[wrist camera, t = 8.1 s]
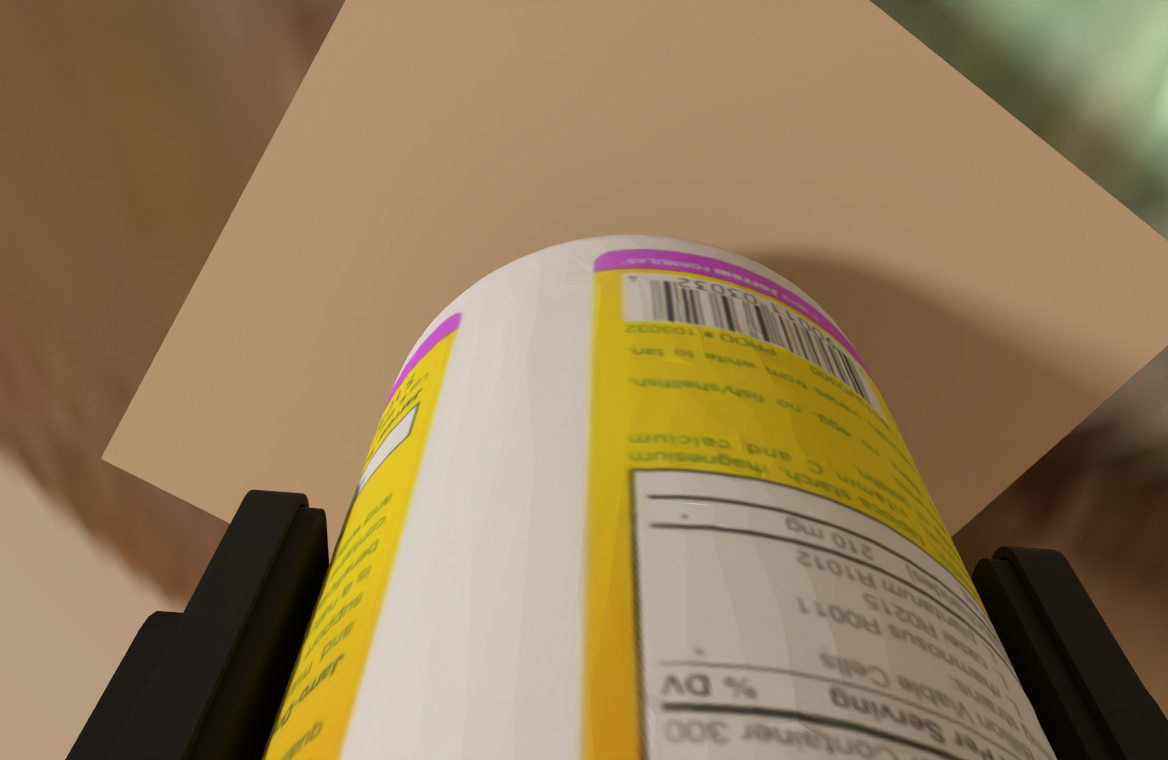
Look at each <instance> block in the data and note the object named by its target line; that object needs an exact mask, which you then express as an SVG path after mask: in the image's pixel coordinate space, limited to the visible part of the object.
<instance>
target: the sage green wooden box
mask: <svg viewBox="0 0 1168 760" xmlns="http://www.w3.org/2000/svg"><path fill="white" fill-rule="evenodd" d="M623 234H643V235H664V236H671V237H678V238H685V239H690V240H694V241H699V242H703V243H707V244H710V245H714V246H717V247H720V248H723V249H726V250H729V251H731V252H734V253H737V254H739V255H742V256H744V257H747V258H749V259H751V260H753V261H756V262H758V263H760V264H762V265H764V266H765V267H767V268H769V269H770V270H772V271H774V272H776V273H777V274H779V275H781V276H782V277H784V278H786V279H787V280H789V281H790V282H792V283H793V284H795V285H796V286H797V287H798V288H800V289H801V290H802V291H803V292H805V293H806V294H807V295H808V296H810V297H811V298H812V299H813V300H814V301H815V302H816V303H817V304H818V305H819V306H820V307H821V308H822V309H823V310H824V311H825V312H826V313H827V314H828V315H829V316H830V317H831V318H832V319H833V320H834V321H835V323H836V324H837V325H838V327H839V328H840V329H841V331H842V332H843V333H844V334H845V336H846V337H847V338H848V340H849V341H850V342H851V344H852V345H853V347H854V349H855V350H856V352H857V353H858V355H859V356H860V358H861V359H862V361H863V363H864V364H865V366H866V367H867V369H868V371H869V373H870V375H871V376H872V378H873V380H874V382H875V384H876V386H877V388H878V390H879V392H880V394H881V396H882V398H883V400H884V402H885V403H886V405H887V407H888V409H889V411H890V413H891V415H892V417H893V419H894V421H895V423H896V425H897V427H898V429H899V431H900V434H901V436H902V438H903V440H904V442H905V444H906V446H907V448H908V450H909V452H910V454H911V456H912V458H913V460H914V463H915V465H916V467H917V469H918V471H919V473H920V475H921V477H922V480H923V482H924V484H925V486H926V488H927V490H928V492H929V494H930V497H931V499H932V501H933V503H934V505H935V507H936V509H937V511H938V513H939V515H940V517H941V519H942V521H943V523H944V525H945V527H946V529H947V531H948V533H949V535H950V537H952V536H953V535H954V534H956V533H957V532H958V531H959V530H960V529H961V528H962V527H963V526H965V525H966V524H967V523H968V522H969V521H970V520H971V519H972V518H974V517H975V516H976V515H977V514H978V513H979V512H980V511H981V510H983V509H984V508H985V507H986V506H987V505H988V504H989V503H991V502H992V501H993V500H994V499H995V498H996V497H997V496H998V495H1000V494H1001V493H1002V492H1003V491H1004V490H1005V489H1006V488H1007V487H1009V486H1010V485H1011V484H1012V483H1013V482H1014V481H1015V480H1016V479H1018V478H1019V477H1020V476H1021V475H1022V474H1023V473H1024V472H1025V471H1027V470H1028V469H1029V468H1030V467H1031V466H1032V465H1033V464H1035V463H1036V462H1037V461H1038V460H1039V459H1040V458H1041V457H1042V456H1044V455H1045V454H1046V453H1047V452H1048V451H1049V450H1050V449H1051V448H1053V447H1054V446H1055V445H1056V444H1057V443H1058V442H1059V441H1060V440H1062V439H1063V438H1064V437H1065V436H1066V435H1067V434H1068V433H1070V432H1071V431H1072V430H1073V429H1074V428H1075V427H1076V426H1077V425H1079V424H1080V423H1081V422H1082V421H1083V420H1084V419H1085V418H1086V417H1088V416H1089V415H1090V414H1091V413H1092V412H1093V411H1094V410H1095V409H1097V408H1098V407H1099V406H1100V405H1101V404H1102V403H1103V402H1105V401H1106V400H1107V399H1108V398H1109V397H1110V396H1111V395H1112V394H1114V393H1115V392H1116V391H1117V390H1118V389H1119V388H1120V387H1121V386H1123V385H1124V384H1125V383H1126V382H1127V381H1128V380H1129V379H1130V378H1132V377H1133V376H1134V375H1135V374H1136V373H1137V372H1138V371H1140V370H1141V369H1142V368H1143V367H1144V366H1145V365H1146V364H1147V363H1149V362H1150V361H1151V360H1152V359H1153V358H1154V357H1155V356H1156V355H1158V354H1159V353H1160V352H1161V351H1162V350H1163V349H1164V348H1165V347H1167V346H1168V240H1166V239H1165V238H1164V237H1163V236H1161V235H1160V234H1159V233H1158V232H1156V231H1155V230H1154V229H1153V228H1151V227H1150V226H1149V225H1148V224H1147V223H1145V222H1144V221H1143V220H1142V219H1140V218H1139V217H1138V216H1137V215H1135V214H1134V213H1133V212H1132V211H1130V210H1129V209H1128V208H1127V207H1125V206H1124V205H1123V204H1122V203H1120V202H1119V201H1118V200H1117V199H1116V198H1114V197H1113V196H1112V195H1111V194H1109V193H1108V192H1107V191H1106V190H1104V189H1103V188H1102V187H1101V186H1099V185H1098V184H1097V183H1096V182H1094V181H1093V180H1092V179H1091V178H1089V177H1088V176H1087V175H1086V174H1085V173H1083V172H1082V171H1081V170H1080V169H1078V168H1077V167H1076V166H1075V165H1073V164H1072V163H1071V162H1070V161H1068V160H1067V159H1066V158H1065V157H1063V156H1062V155H1061V154H1060V153H1058V152H1057V151H1056V150H1055V149H1054V148H1052V147H1051V146H1050V145H1049V144H1047V143H1046V142H1045V141H1044V140H1042V139H1041V138H1040V137H1039V136H1037V135H1036V134H1035V133H1034V132H1032V131H1031V130H1030V129H1029V128H1027V127H1026V126H1025V125H1024V124H1023V123H1021V122H1020V121H1019V120H1018V119H1016V118H1015V117H1014V116H1013V115H1011V114H1010V113H1009V112H1008V111H1006V110H1005V109H1004V108H1003V107H1001V106H1000V105H999V104H998V103H996V102H995V101H994V100H993V99H992V98H990V97H989V96H988V95H987V94H985V93H984V92H983V91H982V90H980V89H979V88H978V87H977V86H975V85H974V84H973V83H972V82H970V81H969V80H968V79H967V78H965V77H964V76H963V75H962V74H961V73H959V72H958V71H957V70H956V69H954V68H953V67H952V66H951V65H949V64H948V63H947V62H946V61H944V60H943V59H942V58H941V57H939V56H938V55H937V54H936V53H934V52H933V51H932V50H931V49H930V48H928V47H927V46H926V45H925V44H923V43H922V42H921V41H920V40H918V39H917V38H916V37H915V36H913V35H912V34H911V33H910V32H908V31H907V30H906V29H905V28H903V27H902V26H901V25H900V24H899V23H897V22H896V21H895V20H894V19H892V18H891V17H890V16H889V15H887V14H886V13H885V12H884V11H882V10H881V9H880V8H879V7H877V6H876V5H875V4H874V3H873V2H871V1H870V0H346V1H345V3H344V5H343V7H342V8H341V10H340V12H339V14H338V16H337V18H336V20H335V22H334V23H333V25H332V27H331V29H330V31H329V33H328V35H327V36H326V38H325V40H324V42H323V44H322V46H321V48H320V50H319V51H318V53H317V55H316V57H315V59H314V61H313V63H312V65H311V66H310V68H309V70H308V72H307V74H306V76H305V78H304V80H303V81H302V83H301V85H300V87H299V89H298V91H297V93H296V94H295V96H294V98H293V100H292V102H291V104H290V106H289V108H288V109H287V111H286V113H285V115H284V117H283V119H282V121H281V123H280V124H279V126H278V128H277V130H276V132H275V134H274V136H273V138H272V139H271V141H270V143H269V145H268V147H267V149H266V151H265V152H264V154H263V156H262V158H261V160H260V162H259V164H258V166H257V167H256V169H255V171H254V173H253V175H252V177H251V179H250V181H249V182H248V184H247V186H246V188H245V190H244V192H243V194H242V196H241V197H240V199H239V201H238V203H237V205H236V207H235V209H234V211H233V212H232V214H231V216H230V218H229V220H228V222H227V224H226V225H225V227H224V229H223V231H222V233H221V235H220V237H219V239H218V240H217V242H216V244H215V246H214V248H213V250H212V252H211V254H210V255H209V257H208V259H207V261H206V263H205V265H204V267H203V269H202V270H201V272H200V274H199V276H198V278H197V280H196V282H195V283H194V285H193V287H192V289H191V291H190V293H189V295H188V297H187V298H186V300H185V302H184V304H183V306H182V308H181V310H180V312H179V313H178V315H177V317H176V319H175V321H174V323H173V325H172V327H171V328H170V330H169V332H168V334H167V336H166V338H165V340H164V341H163V343H162V345H161V347H160V349H159V351H158V353H157V355H156V356H155V358H154V360H153V362H152V364H151V366H150V368H149V370H148V371H147V373H146V375H145V377H144V379H143V381H142V383H141V385H140V386H139V388H138V390H137V392H136V394H135V396H134V398H133V400H132V401H131V403H130V405H129V407H128V409H127V411H126V413H125V414H124V416H123V418H122V420H121V422H120V424H119V426H118V428H117V429H116V431H115V433H114V435H113V437H112V439H111V441H110V443H109V444H108V446H107V448H106V450H105V452H104V454H103V456H102V458H101V459H103V460H105V461H107V462H109V463H111V464H113V465H115V466H117V467H119V468H121V469H123V470H125V471H127V472H129V473H131V474H133V475H135V476H137V477H139V478H141V479H143V480H145V481H147V482H149V483H151V484H153V485H155V486H157V487H159V488H161V489H163V490H165V491H167V492H169V493H171V494H173V495H175V496H177V497H179V498H181V499H183V500H185V501H187V502H189V503H191V504H193V505H195V506H197V507H199V508H201V509H203V510H205V511H206V512H208V513H210V514H212V515H214V516H216V517H218V518H220V519H222V520H224V521H226V522H228V523H231V521H232V519H233V517H234V516H235V514H236V512H237V510H238V508H239V506H240V504H241V502H242V500H243V498H244V497H245V495H246V494H247V493H248V491H250V490H252V489H253V490H267V491H280V492H293V493H304V494H305V495H306V496H307V498H308V501H309V508H321V509H324V511H325V513H326V520H327V535H328V550H329V565H330V562H331V559H332V555H333V552H334V549H335V545H336V542H337V540H338V537H339V535H340V532H341V528H342V526H343V523H344V520H345V517H346V514H347V511H348V509H349V506H350V504H351V501H352V498H353V496H354V493H355V490H356V487H357V485H358V483H359V480H360V477H361V473H362V470H363V467H364V464H365V461H366V458H367V455H368V452H369V449H370V446H371V444H372V441H373V439H374V436H375V433H376V431H377V428H378V426H379V423H380V420H381V418H382V415H383V412H384V409H385V407H386V404H387V401H388V399H389V396H390V394H391V391H392V389H393V386H394V384H395V381H396V379H397V377H398V375H399V373H400V371H401V369H402V367H403V365H404V363H405V361H406V359H407V357H408V355H409V353H410V352H411V350H412V349H413V347H414V346H415V344H416V343H417V341H418V340H419V338H420V337H421V336H422V334H423V333H424V332H425V330H426V329H427V328H428V326H429V325H430V324H431V323H432V322H433V321H434V319H435V318H436V317H437V316H438V315H439V314H440V313H441V312H442V311H443V310H444V309H445V308H446V307H447V306H448V305H449V304H450V303H452V302H453V301H454V300H455V299H456V298H457V297H459V296H460V295H461V294H462V293H463V292H465V291H466V290H467V289H468V288H470V287H471V286H472V285H474V284H475V283H476V282H478V281H479V280H480V279H482V278H483V277H485V276H487V275H488V274H490V273H492V272H493V271H495V270H497V269H499V268H501V267H503V266H505V265H507V264H509V263H511V262H513V261H515V260H517V259H519V258H521V257H524V256H526V255H529V254H531V253H534V252H537V251H539V250H542V249H544V248H547V247H550V246H554V245H558V244H562V243H566V242H570V241H573V240H579V239H585V238H591V237H598V236H608V235H623Z"/></svg>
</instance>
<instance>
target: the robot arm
mask: <svg viewBox="0 0 1168 760" xmlns="http://www.w3.org/2000/svg"><path fill="white" fill-rule="evenodd" d="M328 567H329V550H328V535H327V520H326V513H325V511H324V509H321V508H309V501H308V498H307V496H306V495H305V494H304V493H293V492H280V491H267V490H253V489H252V490H250V491H248V493H247V494H246V495H245V497H244V498H243V500H242V502H241V504H240V506H239V508H238V510H237V512H236V514H235V516H234V517H233V519H232V521H231V523H230V525H229V527H228V529H227V531H226V533H225V535H224V536H223V538H222V540H221V542H220V544H219V546H218V548H217V550H216V552H215V554H214V555H213V557H212V559H211V561H210V563H209V565H208V567H207V569H206V571H205V573H204V574H203V576H202V578H201V580H200V582H199V584H198V586H197V588H196V590H195V592H194V593H193V595H192V597H191V599H190V601H189V603H188V605H187V607H186V609H185V611H184V612H183V613H178V612H164V611H156V612H155V613H153V614H152V615H150V616H149V617H148V618H147V620H146V621H145V622H144V624H143V625H142V627H141V628H140V629H139V631H138V633H137V635H136V637H135V638H134V640H133V642H132V644H131V645H130V647H129V649H128V651H127V652H126V654H125V656H124V658H123V659H122V661H121V663H120V665H119V667H118V668H117V670H116V672H115V674H114V675H113V677H112V679H111V680H110V682H109V684H108V686H107V688H106V689H105V691H104V693H103V695H102V696H101V698H100V700H99V702H98V703H97V705H96V707H95V709H94V710H93V712H92V714H91V716H90V717H89V719H88V721H87V723H86V724H85V726H84V728H83V730H82V731H81V733H80V735H79V737H78V738H77V740H76V742H75V744H74V745H73V747H72V749H71V751H70V753H69V754H68V756H67V758H66V759H65V760H261V758H262V755H263V752H264V750H265V747H266V744H267V741H268V738H269V735H270V732H271V729H272V727H273V724H274V721H275V718H276V715H277V712H278V709H279V707H280V704H281V701H282V698H283V695H284V692H285V689H286V687H287V684H288V681H289V678H290V676H291V673H292V670H293V667H294V664H295V661H296V658H297V656H298V653H299V650H300V647H301V645H302V642H303V638H304V635H305V631H306V628H307V626H308V623H309V621H310V618H311V615H312V611H313V609H314V606H315V604H316V601H317V598H318V595H319V592H320V589H321V586H322V583H323V580H324V577H325V574H326V572H327V569H328ZM971 580H972V583H973V585H974V587H975V589H976V591H977V593H978V595H979V597H980V599H981V601H982V604H983V606H984V608H985V610H986V612H987V614H988V617H989V619H990V621H991V623H992V625H993V627H994V629H995V631H996V633H997V635H998V637H999V640H1000V642H1001V644H1002V646H1003V648H1004V650H1005V652H1006V654H1007V656H1008V658H1009V660H1010V662H1011V664H1012V666H1013V669H1014V671H1015V673H1016V675H1017V677H1018V679H1019V682H1020V684H1021V686H1022V688H1023V690H1024V692H1025V694H1026V696H1027V698H1028V700H1029V701H1030V703H1031V705H1032V707H1033V709H1034V712H1035V714H1036V717H1037V719H1038V721H1039V723H1040V726H1041V728H1042V730H1043V732H1044V734H1045V736H1046V738H1047V740H1048V742H1049V744H1050V746H1051V748H1052V750H1053V752H1054V754H1055V756H1056V758H1057V760H1168V721H1167V719H1166V717H1165V716H1164V714H1163V712H1162V711H1161V709H1160V708H1159V706H1158V704H1157V703H1156V701H1155V700H1154V699H1153V698H1152V696H1151V695H1150V694H1149V693H1148V691H1147V690H1146V689H1145V687H1144V686H1143V684H1142V682H1141V681H1140V679H1139V677H1138V676H1137V674H1136V672H1135V671H1134V669H1133V668H1132V666H1131V664H1130V663H1129V661H1128V659H1127V658H1126V656H1125V654H1124V653H1123V651H1122V649H1121V648H1120V646H1119V645H1118V643H1117V641H1116V640H1115V638H1114V636H1113V635H1112V633H1111V631H1110V630H1109V628H1108V627H1107V625H1106V623H1105V622H1104V620H1103V618H1102V617H1101V615H1100V613H1099V612H1098V610H1097V609H1096V607H1095V605H1094V604H1093V602H1092V600H1091V599H1090V597H1089V595H1088V594H1087V592H1086V591H1085V589H1084V587H1083V586H1082V584H1081V582H1080V581H1079V579H1078V577H1077V576H1076V574H1075V573H1074V571H1073V569H1072V568H1071V566H1070V564H1069V563H1068V561H1067V559H1066V558H1065V557H1064V556H1063V555H1062V554H1061V553H1060V552H1058V551H1056V550H1049V549H1035V548H1022V547H1009V546H1004V547H999V548H998V549H997V550H996V551H995V552H994V554H993V556H992V558H991V559H986V558H985V559H981V560H980V561H979V562H978V563H977V565H976V567H975V569H974V572H973V574H972V577H971Z"/></svg>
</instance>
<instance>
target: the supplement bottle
mask: <svg viewBox="0 0 1168 760" xmlns="http://www.w3.org/2000/svg"><path fill="white" fill-rule="evenodd" d="M261 760H1057V758H1056V756H1055V754H1054V752H1053V750H1052V748H1051V746H1050V744H1049V742H1048V740H1047V738H1046V736H1045V734H1044V732H1043V730H1042V728H1041V726H1040V723H1039V721H1038V719H1037V717H1036V714H1035V712H1034V709H1033V707H1032V705H1031V703H1030V701H1029V700H1028V698H1027V696H1026V694H1025V692H1024V690H1023V688H1022V686H1021V684H1020V682H1019V679H1018V677H1017V675H1016V673H1015V671H1014V669H1013V666H1012V664H1011V662H1010V660H1009V658H1008V656H1007V654H1006V652H1005V650H1004V648H1003V646H1002V644H1001V642H1000V640H999V637H998V635H997V633H996V631H995V629H994V627H993V625H992V623H991V621H990V619H989V617H988V614H987V612H986V610H985V608H984V606H983V604H982V601H981V599H980V597H979V595H978V593H977V591H976V589H975V587H974V585H973V583H972V580H971V578H970V576H969V574H968V572H967V570H966V568H965V566H964V564H963V562H962V560H961V558H960V556H959V554H958V552H957V550H956V548H955V546H954V543H953V541H952V539H951V537H950V535H949V533H948V531H947V529H946V527H945V525H944V523H943V521H942V519H941V517H940V515H939V513H938V511H937V509H936V507H935V505H934V503H933V501H932V499H931V497H930V494H929V492H928V490H927V488H926V486H925V484H924V482H923V480H922V477H921V475H920V473H919V471H918V469H917V467H916V465H915V463H914V460H913V458H912V456H911V454H910V452H909V450H908V448H907V446H906V444H905V442H904V440H903V438H902V436H901V434H900V431H899V429H898V427H897V425H896V423H895V421H894V419H893V417H892V415H891V413H890V411H889V409H888V407H887V405H886V403H885V402H884V400H883V398H882V396H881V394H880V392H879V390H878V388H877V386H876V384H875V382H874V380H873V378H872V376H871V375H870V373H869V371H868V369H867V367H866V366H865V364H864V363H863V361H862V359H861V358H860V356H859V355H858V353H857V352H856V350H855V349H854V347H853V345H852V344H851V342H850V341H849V340H848V338H847V337H846V336H845V334H844V333H843V332H842V331H841V329H840V328H839V327H838V325H837V324H836V323H835V321H834V320H833V319H832V318H831V317H830V316H829V315H828V314H827V313H826V312H825V311H824V310H823V309H822V308H821V307H820V306H819V305H818V304H817V303H816V302H815V301H814V300H813V299H812V298H811V297H810V296H808V295H807V294H806V293H805V292H803V291H802V290H801V289H800V288H798V287H797V286H796V285H795V284H793V283H792V282H790V281H789V280H787V279H786V278H784V277H782V276H781V275H779V274H777V273H776V272H774V271H772V270H770V269H769V268H767V267H765V266H764V265H762V264H760V263H758V262H756V261H753V260H751V259H749V258H747V257H744V256H742V255H739V254H737V253H734V252H731V251H729V250H726V249H723V248H720V247H717V246H714V245H710V244H707V243H703V242H699V241H694V240H690V239H685V238H678V237H671V236H664V235H643V234H623V235H608V236H598V237H591V238H585V239H579V240H573V241H570V242H566V243H562V244H558V245H554V246H550V247H547V248H544V249H542V250H539V251H537V252H534V253H531V254H529V255H526V256H524V257H521V258H519V259H517V260H515V261H513V262H511V263H509V264H507V265H505V266H503V267H501V268H499V269H497V270H495V271H493V272H492V273H490V274H488V275H487V276H485V277H483V278H482V279H480V280H479V281H478V282H476V283H475V284H474V285H472V286H471V287H470V288H468V289H467V290H466V291H465V292H463V293H462V294H461V295H460V296H459V297H457V298H456V299H455V300H454V301H453V302H452V303H450V304H449V305H448V306H447V307H446V308H445V309H444V310H443V311H442V312H441V313H440V314H439V315H438V316H437V317H436V318H435V319H434V321H433V322H432V323H431V324H430V325H429V326H428V328H427V329H426V330H425V332H424V333H423V334H422V336H421V337H420V338H419V340H418V341H417V343H416V344H415V346H414V347H413V349H412V350H411V352H410V353H409V355H408V357H407V359H406V361H405V363H404V365H403V367H402V369H401V371H400V373H399V375H398V377H397V379H396V381H395V384H394V386H393V389H392V391H391V394H390V396H389V399H388V401H387V404H386V407H385V409H384V412H383V415H382V418H381V420H380V423H379V426H378V428H377V431H376V433H375V436H374V439H373V441H372V444H371V446H370V449H369V452H368V455H367V458H366V461H365V464H364V467H363V470H362V473H361V477H360V480H359V483H358V485H357V487H356V490H355V493H354V496H353V498H352V501H351V504H350V506H349V509H348V511H347V514H346V517H345V520H344V523H343V526H342V528H341V532H340V535H339V537H338V540H337V542H336V545H335V549H334V552H333V555H332V559H331V562H330V565H329V567H328V569H327V572H326V574H325V577H324V580H323V583H322V586H321V589H320V592H319V595H318V598H317V601H316V604H315V606H314V609H313V611H312V615H311V618H310V621H309V623H308V626H307V628H306V631H305V635H304V638H303V642H302V645H301V647H300V650H299V653H298V656H297V658H296V661H295V664H294V667H293V670H292V673H291V676H290V678H289V681H288V684H287V687H286V689H285V692H284V695H283V698H282V701H281V704H280V707H279V709H278V712H277V715H276V718H275V721H274V724H273V727H272V729H271V732H270V735H269V738H268V741H267V744H266V747H265V750H264V752H263V755H262V758H261Z"/></svg>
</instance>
